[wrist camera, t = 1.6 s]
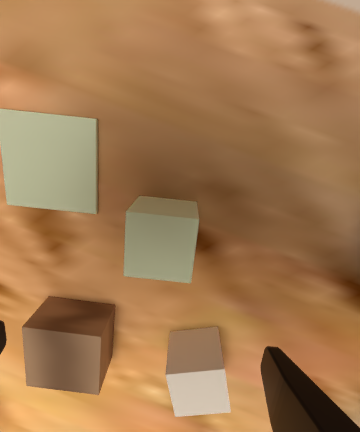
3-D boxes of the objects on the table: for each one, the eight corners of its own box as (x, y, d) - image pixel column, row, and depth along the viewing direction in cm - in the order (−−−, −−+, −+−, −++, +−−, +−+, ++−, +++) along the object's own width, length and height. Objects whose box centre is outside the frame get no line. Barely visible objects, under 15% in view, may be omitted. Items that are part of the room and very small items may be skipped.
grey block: (217, 325, 23) (224, 369, 19) (223, 363, 24) (230, 412, 20) (169, 331, 23) (165, 374, 19) (177, 368, 25) (175, 416, 20)
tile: (97, 119, 18) (96, 118, 17) (97, 212, 20) (95, 214, 19) (0, 109, 18) (-4, 108, 17) (10, 203, 20) (6, 204, 19)
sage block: (196, 201, 19) (199, 219, 15) (190, 253, 21) (190, 283, 17) (139, 195, 19) (125, 211, 15) (136, 247, 21) (123, 276, 16)
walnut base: (115, 303, 23) (101, 337, 19) (112, 354, 24) (98, 394, 21) (50, 295, 23) (22, 326, 19) (51, 347, 24) (26, 385, 21)
